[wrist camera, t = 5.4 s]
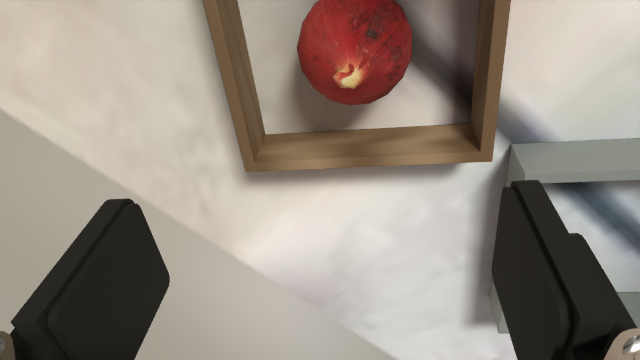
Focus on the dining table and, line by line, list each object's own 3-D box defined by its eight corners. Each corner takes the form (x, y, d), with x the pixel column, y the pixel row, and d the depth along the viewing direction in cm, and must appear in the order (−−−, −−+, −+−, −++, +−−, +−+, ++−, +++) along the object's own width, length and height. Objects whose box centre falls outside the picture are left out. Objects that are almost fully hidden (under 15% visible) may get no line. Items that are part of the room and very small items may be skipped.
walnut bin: (507, -153, 21) (529, -155, 18) (480, 132, 29) (492, 161, 26) (200, -109, 23) (176, -106, 20) (257, 143, 31) (245, 171, 29)
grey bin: (771, 132, 27) (817, 163, 24) (686, 298, 36) (713, 336, 33) (511, 144, 30) (525, 174, 27) (489, 298, 38) (498, 333, 35)
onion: (348, -52, 24) (338, -21, 17) (429, 15, 25) (447, 67, 19) (289, 36, 27) (261, 90, 20) (364, 91, 28) (361, 158, 22)
